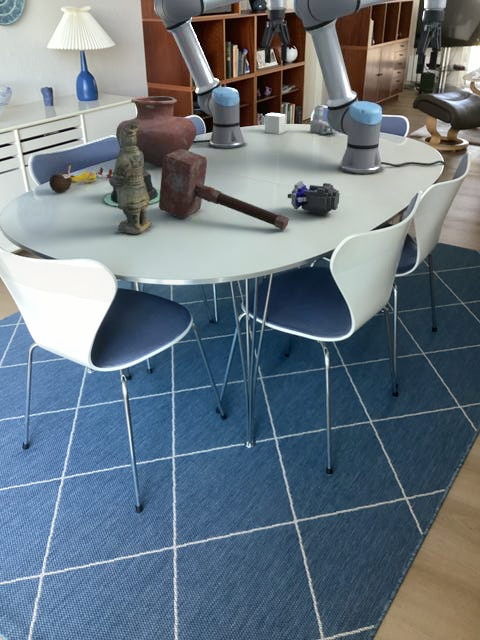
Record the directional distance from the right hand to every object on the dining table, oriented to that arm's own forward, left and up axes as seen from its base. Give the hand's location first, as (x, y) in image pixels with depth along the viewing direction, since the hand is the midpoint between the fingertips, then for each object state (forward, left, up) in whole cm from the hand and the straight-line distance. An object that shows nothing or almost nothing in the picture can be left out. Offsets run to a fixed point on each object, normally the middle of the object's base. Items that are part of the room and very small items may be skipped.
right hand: (425, 71), depth 216 cm
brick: (+57, -44, -31) cm, 79 cm away
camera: (+33, -39, -31) cm, 60 cm away
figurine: (+129, +41, -31) cm, 139 cm away
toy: (+49, +73, -31) cm, 93 cm away
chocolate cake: (+107, +56, -31) cm, 125 cm away
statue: (+102, +85, -31) cm, 136 cm away
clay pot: (+105, +13, -31) cm, 111 cm away
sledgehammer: (+76, +79, -31) cm, 114 cm away
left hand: (+57, -44, 0) cm, 72 cm away
